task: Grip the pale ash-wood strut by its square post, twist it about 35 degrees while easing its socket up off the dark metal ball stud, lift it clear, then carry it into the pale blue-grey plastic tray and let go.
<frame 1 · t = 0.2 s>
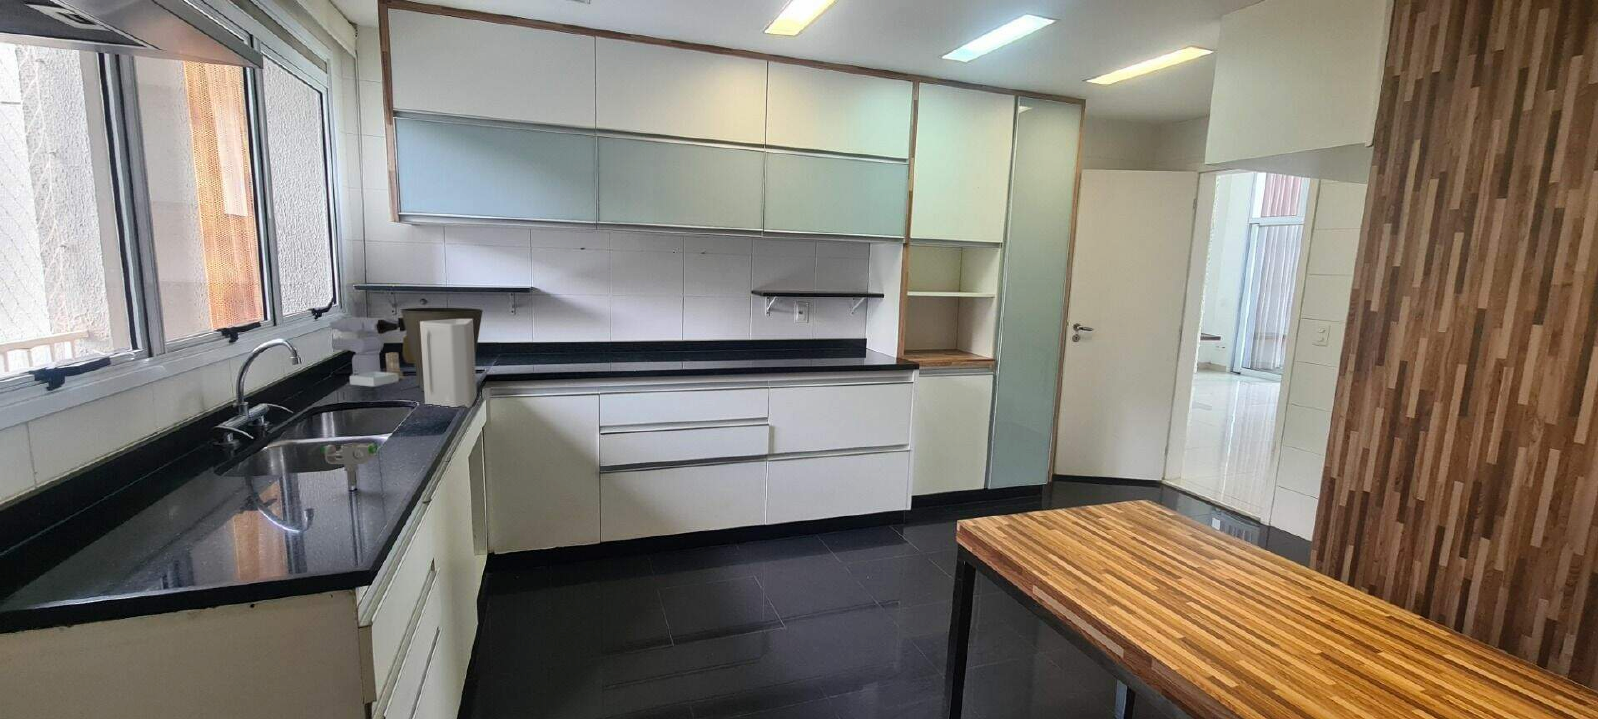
hand: (405, 326, 260), 21 cm above the table, tool horizontal, fingers open, 7 cm apart
stud plate: (393, 379, 259), on the table
tray: (374, 385, 249), on the table
squeeze bottle: (413, 363, 299), on the table
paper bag: (450, 403, 224), on the table
strut: (393, 377, 259), point 1 cm above the table, touching stud plate
waste basket: (447, 389, 246), on the table
mechanical component: (353, 490, 141), on the table
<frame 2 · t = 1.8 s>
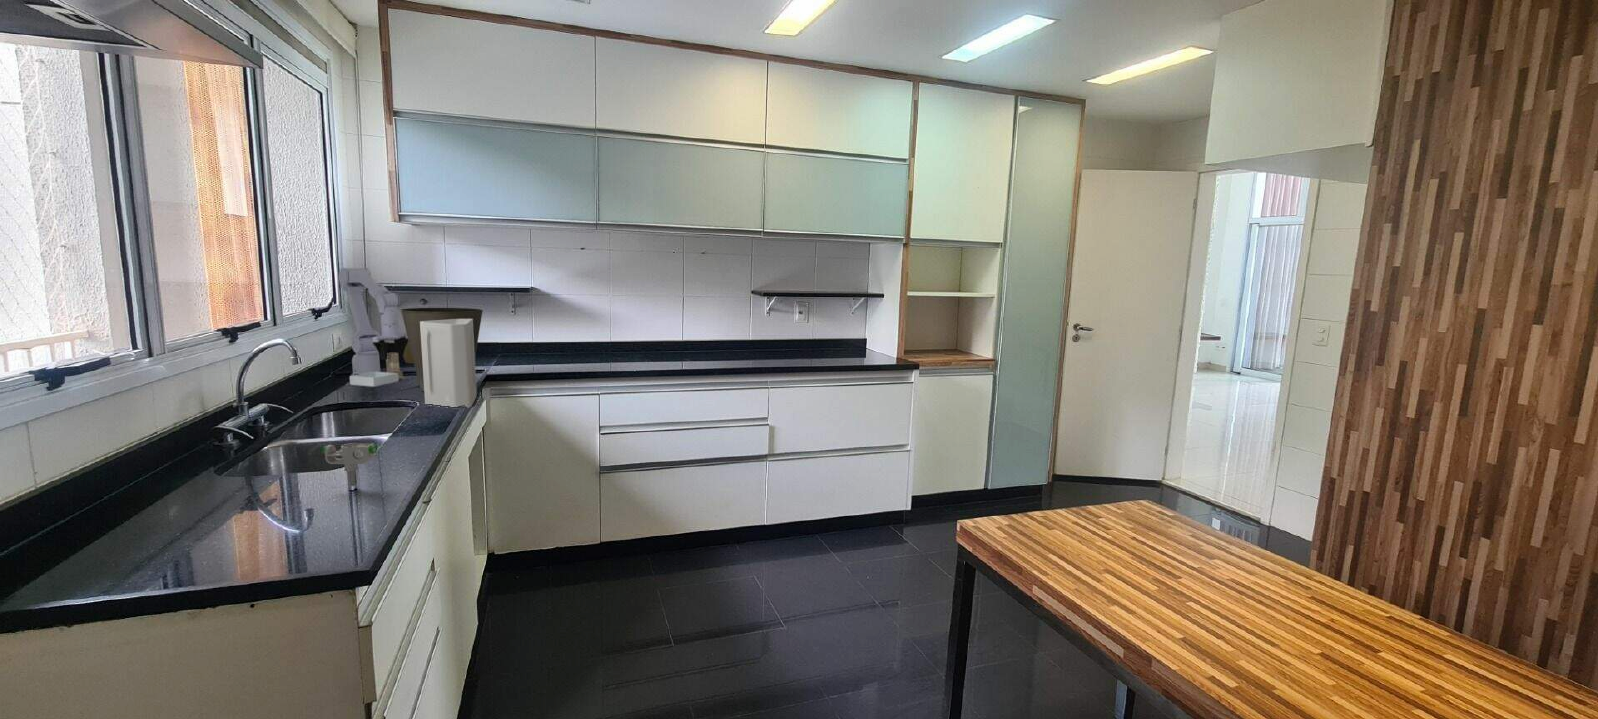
hand: (392, 358, 258), 9 cm above the table, tool pointing down, fingers open, 7 cm apart
nothing on the table moved.
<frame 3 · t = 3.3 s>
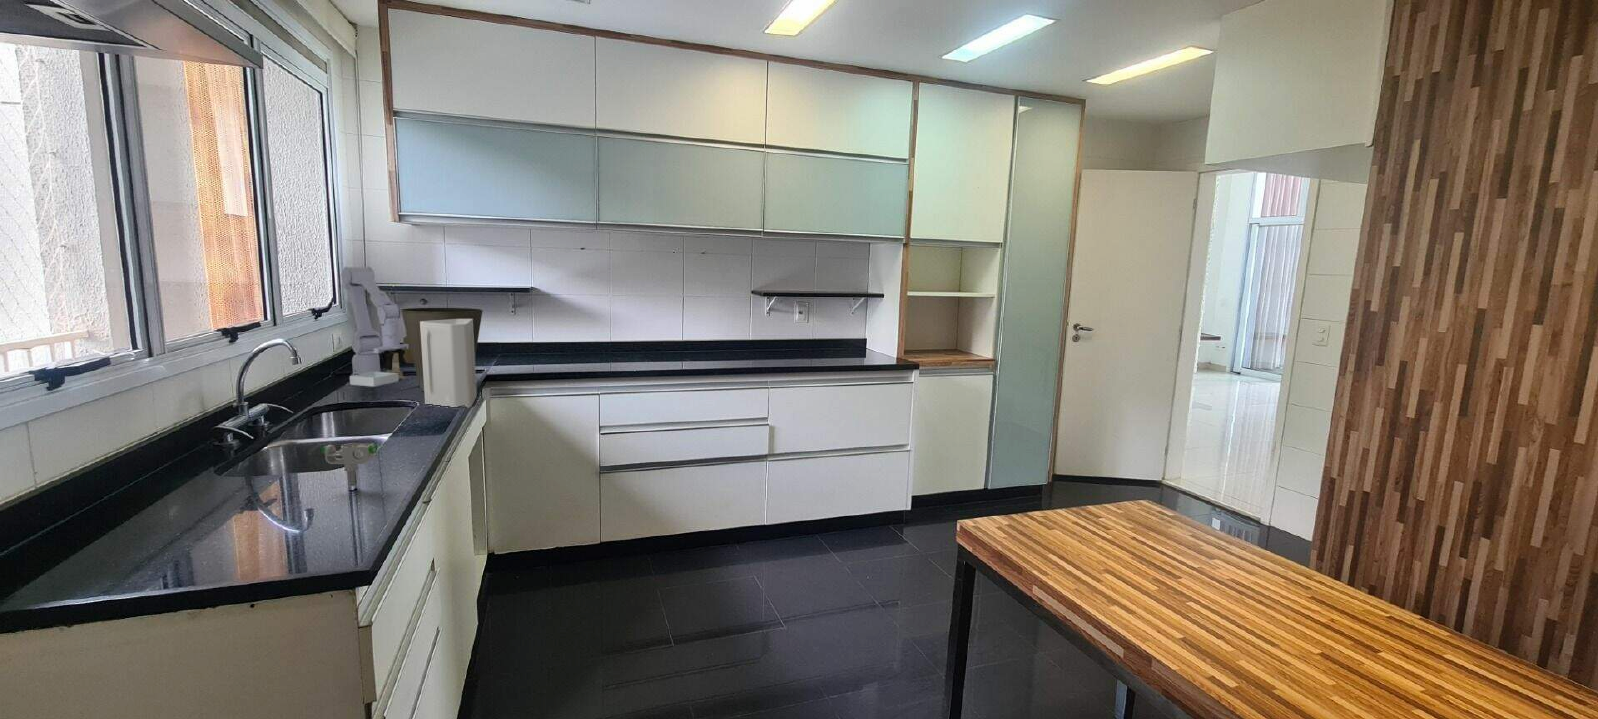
hand: (393, 369, 259), 4 cm above the table, tool pointing down, fingers closed on strut, 3 cm apart
strut: (393, 377, 259), point 1 cm above the table, touching gripper, stud plate
everything else where it was.
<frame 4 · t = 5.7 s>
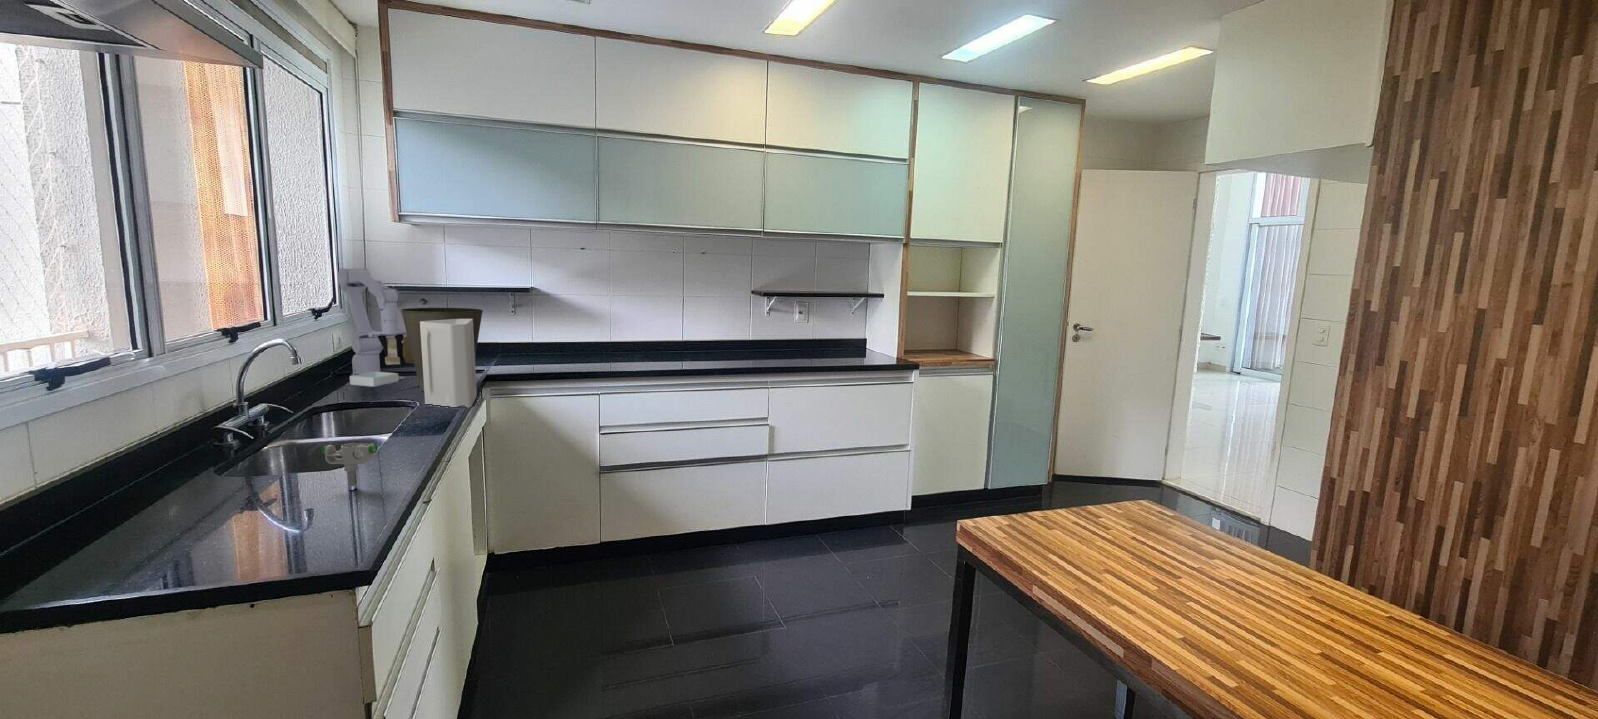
hand: (391, 354, 258), 10 cm above the table, tool pointing down, fingers closed on strut, 3 cm apart
strut: (392, 363, 258), point 7 cm above the table, touching gripper
everything else where it was.
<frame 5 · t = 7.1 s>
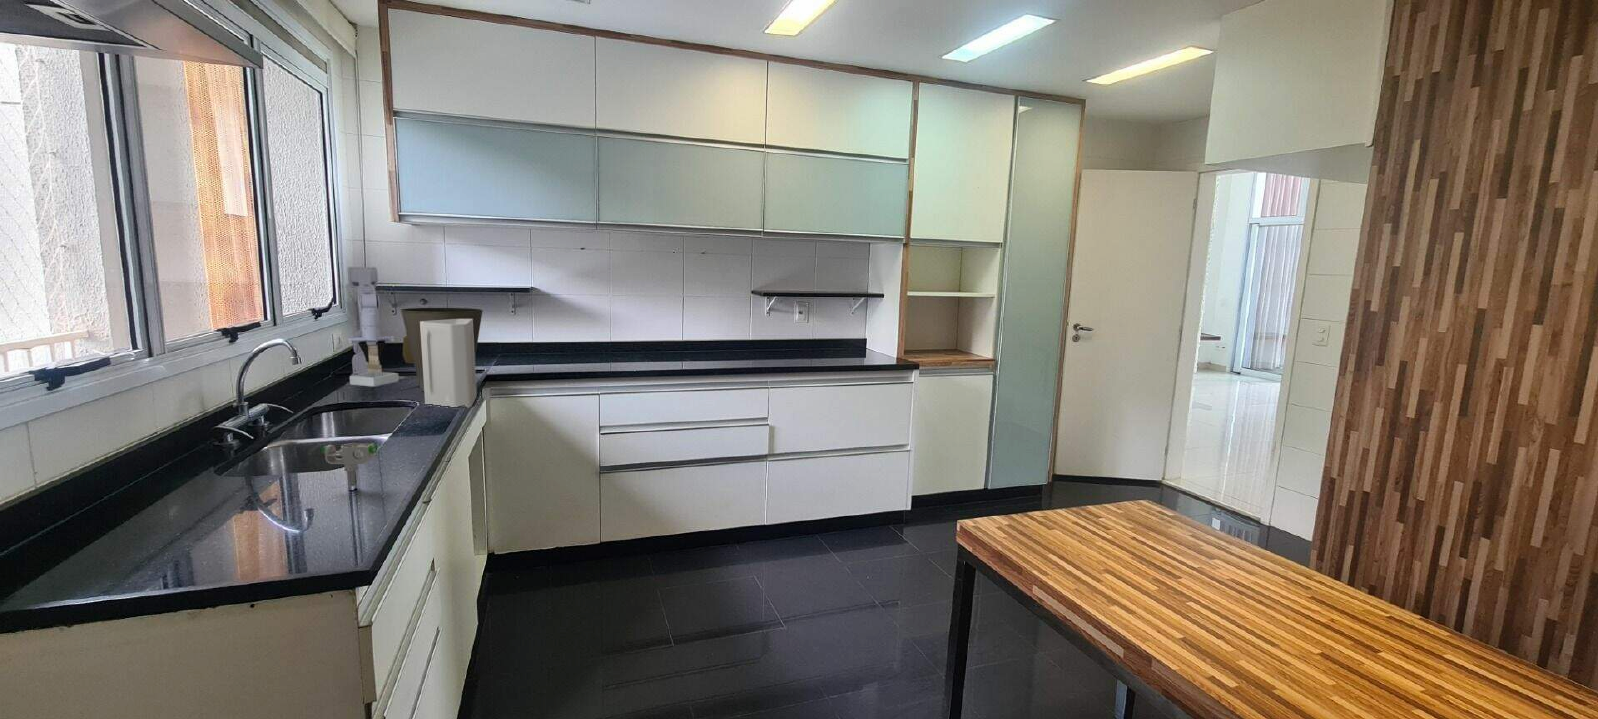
hand: (373, 361, 247), 9 cm above the table, tool pointing down, fingers closed on strut, 3 cm apart
strut: (373, 371, 248), point 5 cm above the table, touching gripper
everything else where it was.
when the fingers open (6 cm above the table, at t = 8.2 s): strut drops 1 cm, resting on tray.
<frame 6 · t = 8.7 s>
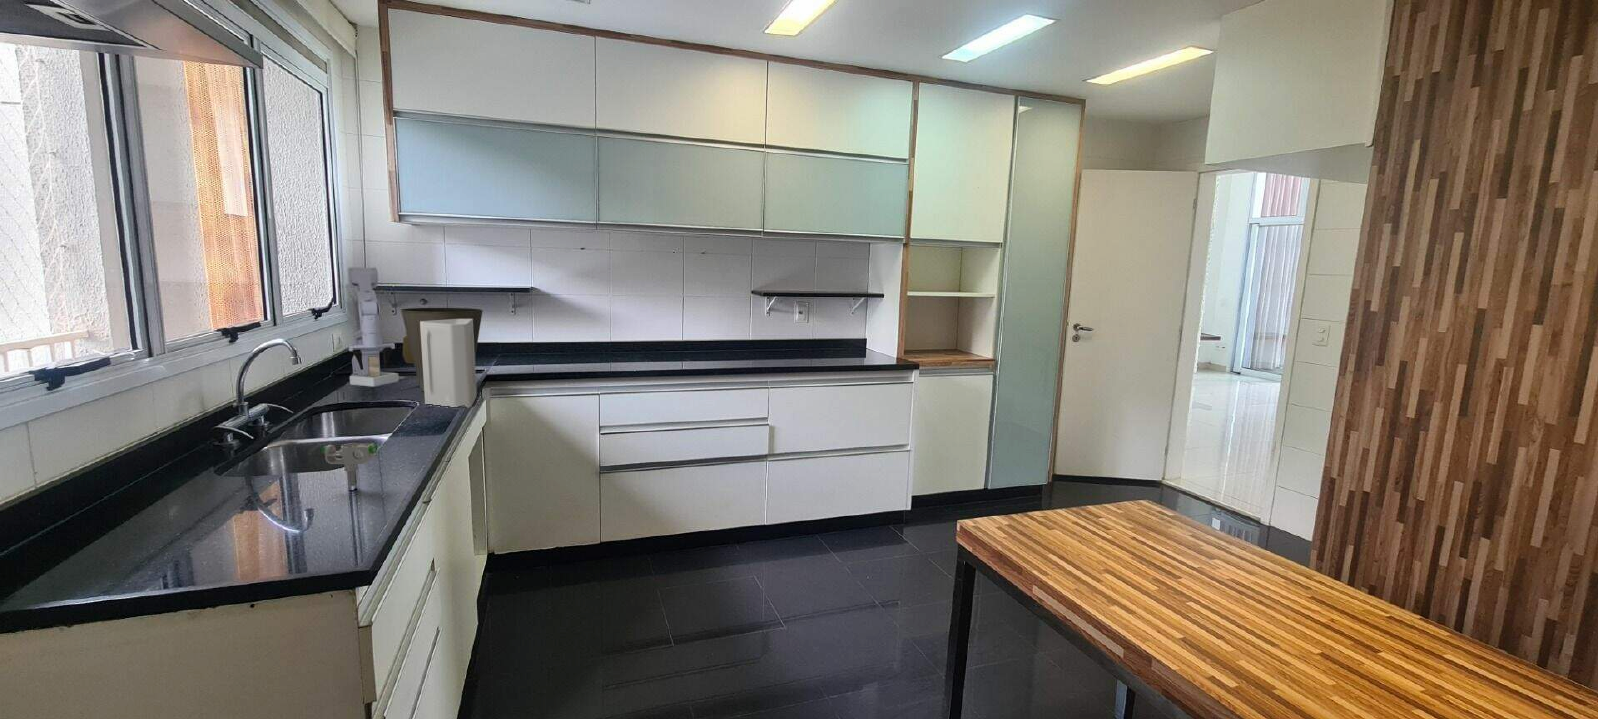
hand: (373, 368, 248), 6 cm above the table, tool pointing down, fingers open, 7 cm apart
strut: (374, 382, 248), point 1 cm above the table, touching tray
everything else where it was.
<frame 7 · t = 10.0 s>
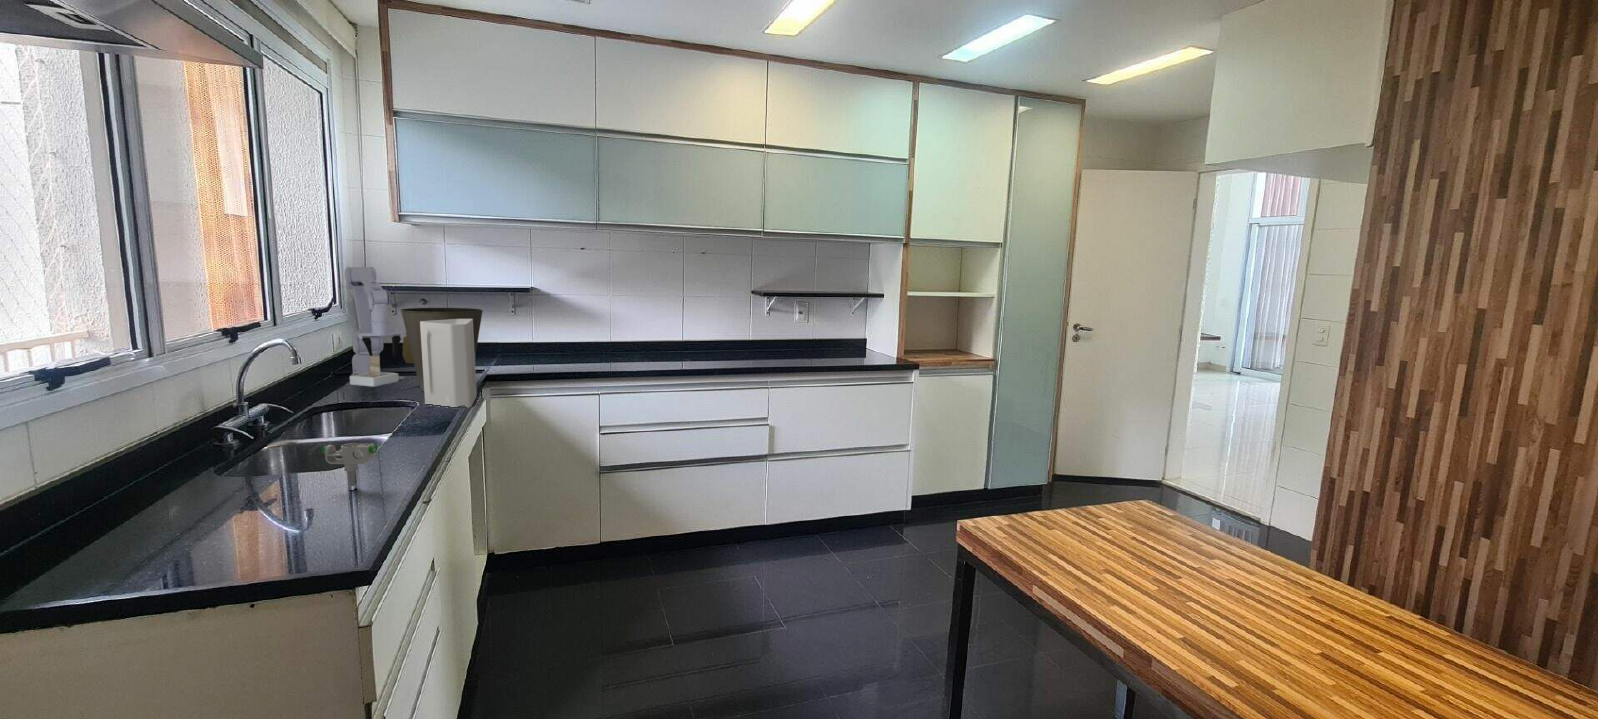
hand: (382, 356, 252), 10 cm above the table, tool pointing down, fingers open, 7 cm apart
nothing on the table moved.
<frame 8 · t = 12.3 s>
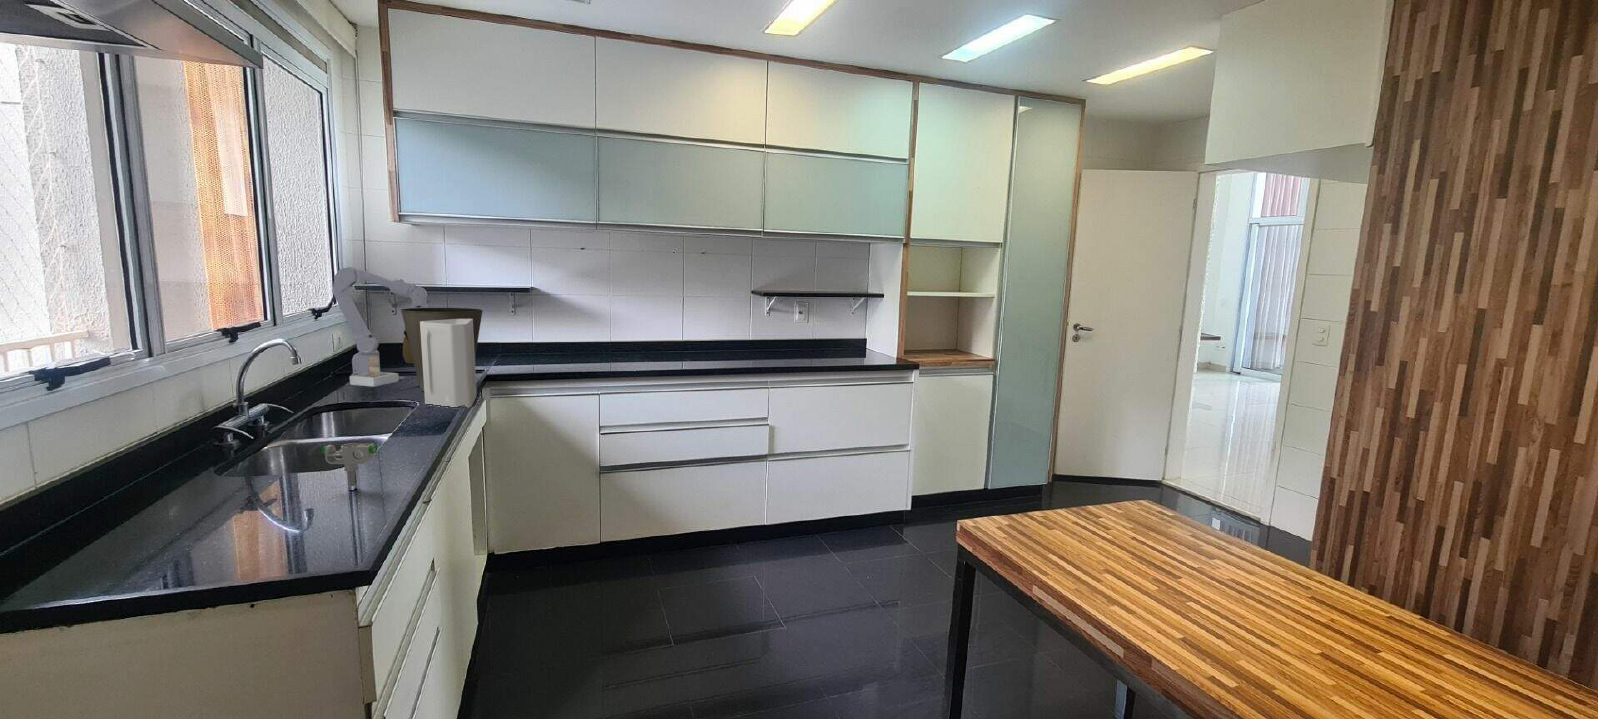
hand: (422, 348, 274), 10 cm above the table, tool pointing down, fingers open, 7 cm apart
nothing on the table moved.
at the end: strut inside the target area on the tray (0.1 cm from its centre), point 1.0 cm above the tray's base; the gripper is holding nothing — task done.
